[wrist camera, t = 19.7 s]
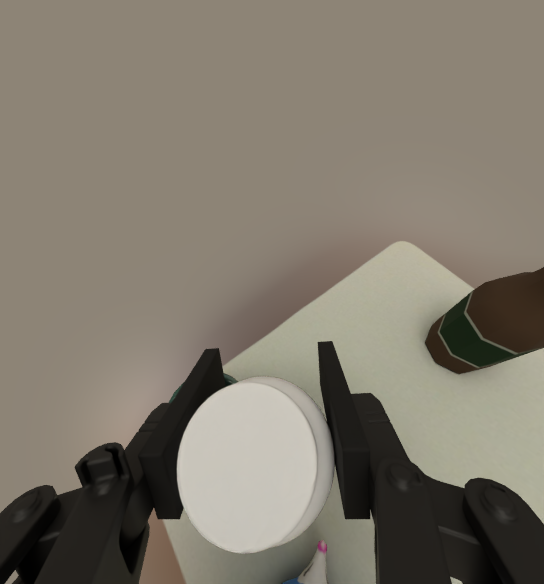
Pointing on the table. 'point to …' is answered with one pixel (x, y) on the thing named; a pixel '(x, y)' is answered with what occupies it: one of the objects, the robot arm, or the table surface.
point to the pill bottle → (255, 465)
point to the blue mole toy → (314, 569)
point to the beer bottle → (491, 324)
